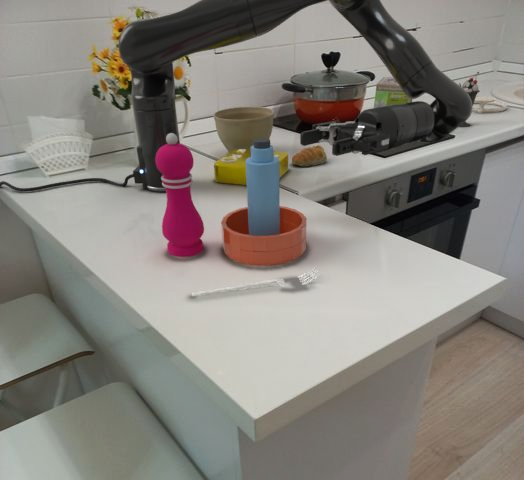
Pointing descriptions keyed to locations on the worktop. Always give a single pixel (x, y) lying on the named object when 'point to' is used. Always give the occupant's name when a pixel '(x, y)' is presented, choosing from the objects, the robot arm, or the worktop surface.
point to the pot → (264, 239)
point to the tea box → (389, 93)
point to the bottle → (263, 189)
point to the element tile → (242, 166)
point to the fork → (260, 284)
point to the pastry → (310, 156)
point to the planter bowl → (243, 126)
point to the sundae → (470, 93)
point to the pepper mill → (179, 200)
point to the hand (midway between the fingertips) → (317, 143)
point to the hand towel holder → (488, 101)
